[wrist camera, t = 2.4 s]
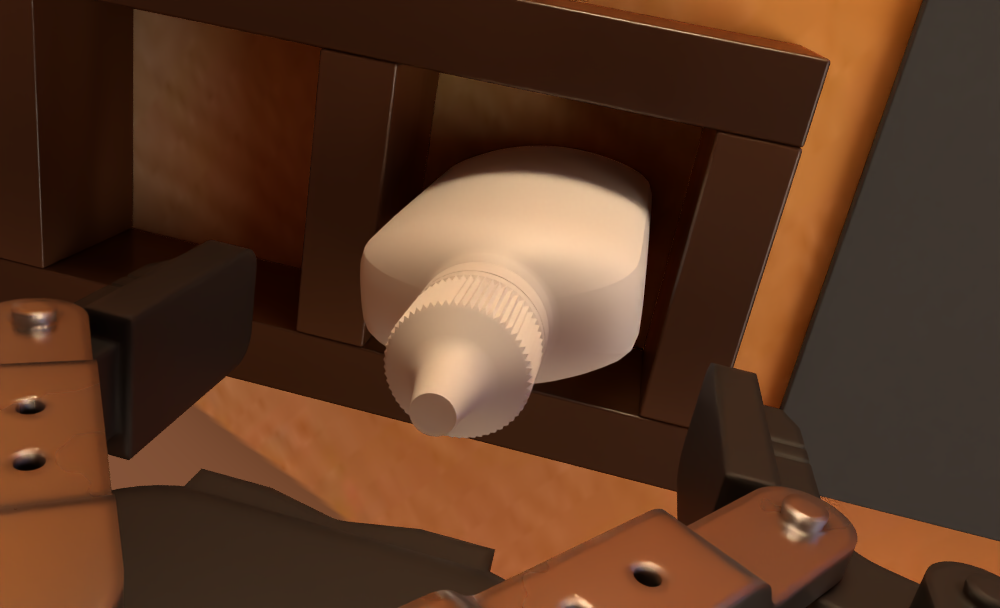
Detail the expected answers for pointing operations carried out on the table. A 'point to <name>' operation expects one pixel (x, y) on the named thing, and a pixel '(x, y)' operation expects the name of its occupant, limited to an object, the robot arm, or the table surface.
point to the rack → (418, 184)
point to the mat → (917, 295)
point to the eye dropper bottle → (506, 283)
